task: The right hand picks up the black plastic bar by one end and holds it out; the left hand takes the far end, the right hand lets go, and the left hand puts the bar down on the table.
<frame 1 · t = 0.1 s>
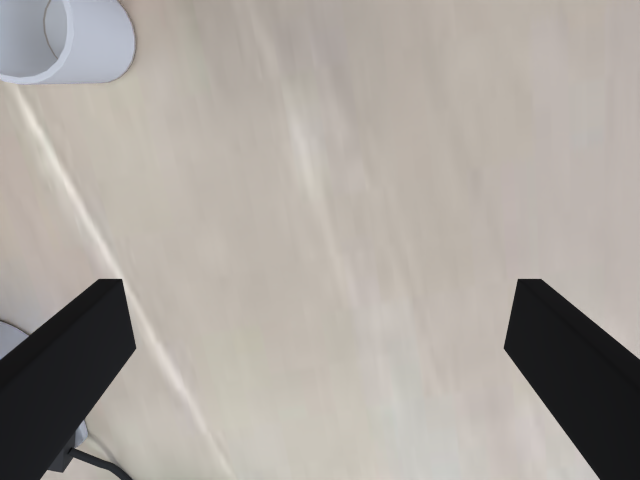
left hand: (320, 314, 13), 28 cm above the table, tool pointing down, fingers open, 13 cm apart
mug: (98, 25, 34), on the table
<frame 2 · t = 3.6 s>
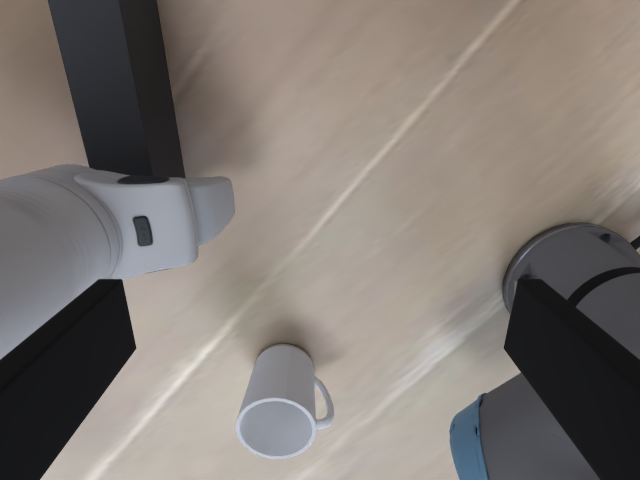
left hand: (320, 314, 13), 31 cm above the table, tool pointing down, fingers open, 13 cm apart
mug: (292, 366, 52), on the table
bar: (144, 92, 39), on the table, touching right hand
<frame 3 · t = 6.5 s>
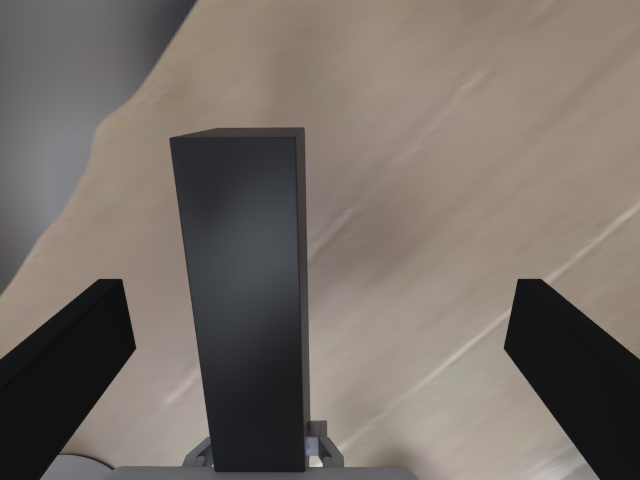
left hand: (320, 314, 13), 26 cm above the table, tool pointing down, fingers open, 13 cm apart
bar: (270, 300, 28), point 12 cm above the table, touching right hand
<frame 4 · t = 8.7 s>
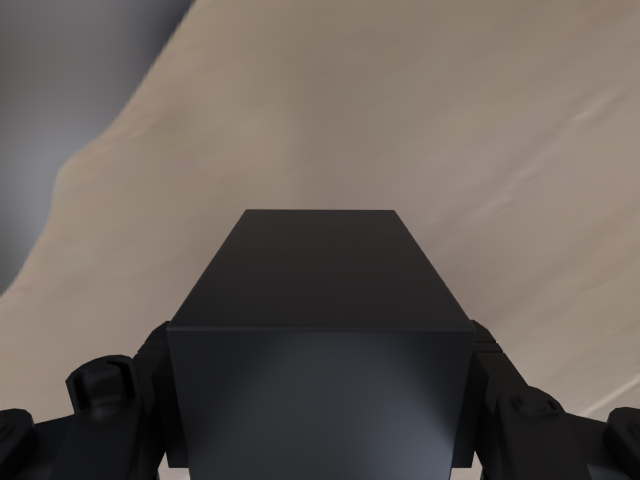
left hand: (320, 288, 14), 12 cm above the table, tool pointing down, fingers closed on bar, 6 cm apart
bar: (318, 453, 19), point 12 cm above the table, touching left hand, right hand
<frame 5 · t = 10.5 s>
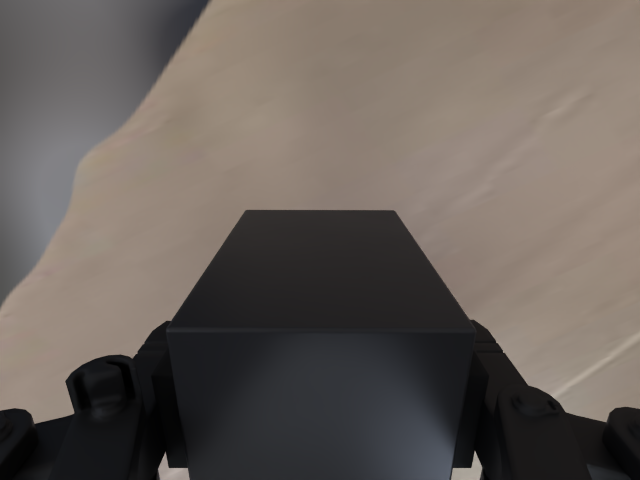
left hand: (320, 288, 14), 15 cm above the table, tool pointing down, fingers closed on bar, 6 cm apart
bar: (319, 454, 19), point 14 cm above the table, touching left hand
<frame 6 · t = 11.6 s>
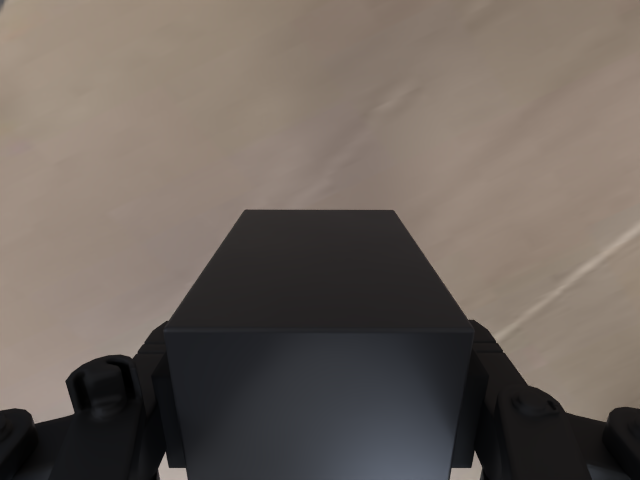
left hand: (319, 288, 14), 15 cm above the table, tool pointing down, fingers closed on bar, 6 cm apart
bar: (318, 454, 19), point 14 cm above the table, touching left hand
when the left hand's fingers open (2 cm above the table, at t = 14.8 s): bar drops 1 cm, on the table.
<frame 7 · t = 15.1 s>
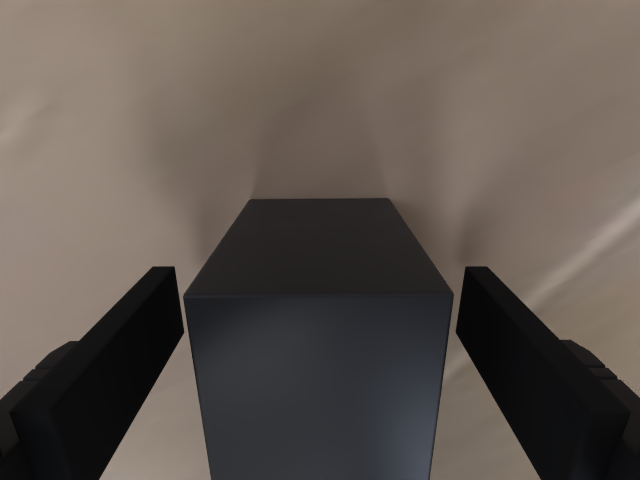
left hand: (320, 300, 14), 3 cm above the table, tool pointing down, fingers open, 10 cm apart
bar: (321, 431, 20), on the table
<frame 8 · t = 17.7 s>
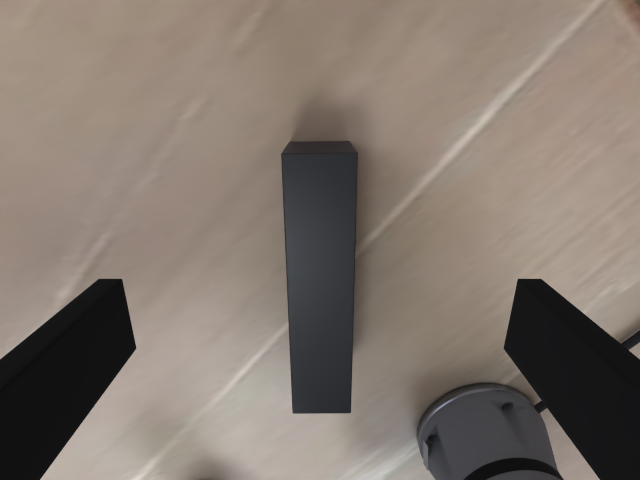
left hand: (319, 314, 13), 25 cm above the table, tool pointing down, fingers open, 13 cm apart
bar: (320, 263, 40), on the table
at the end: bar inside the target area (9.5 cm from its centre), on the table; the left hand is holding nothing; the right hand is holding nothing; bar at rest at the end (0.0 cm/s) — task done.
